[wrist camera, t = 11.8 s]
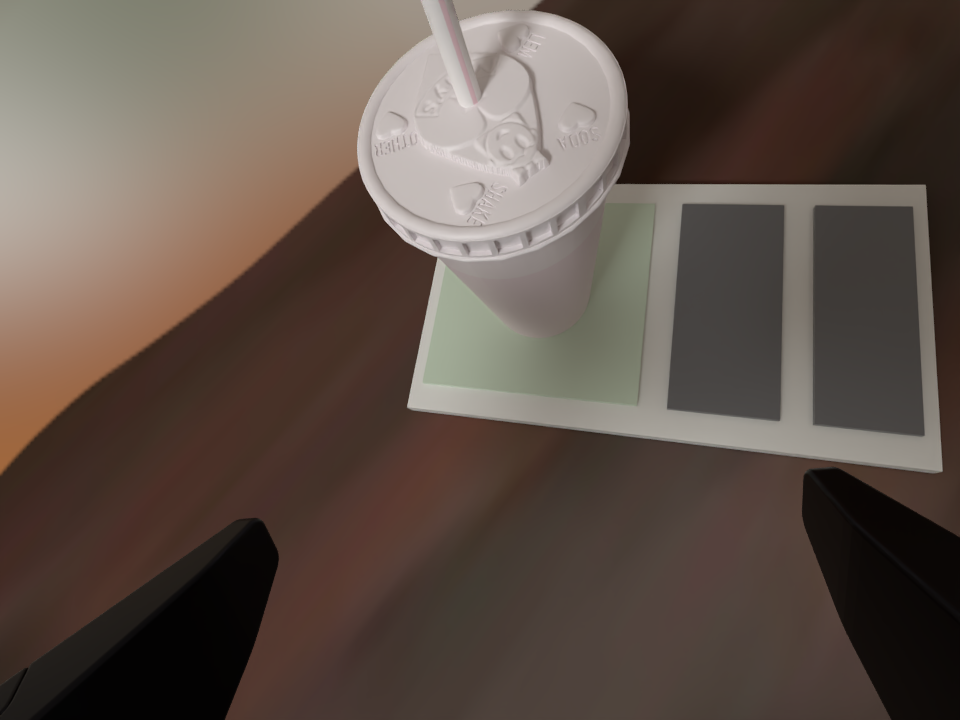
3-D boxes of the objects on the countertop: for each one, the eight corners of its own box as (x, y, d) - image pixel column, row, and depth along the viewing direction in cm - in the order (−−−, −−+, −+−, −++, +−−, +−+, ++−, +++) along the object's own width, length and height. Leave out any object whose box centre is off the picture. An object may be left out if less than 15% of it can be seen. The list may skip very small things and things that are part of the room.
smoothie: (560, 190, 23) (478, -275, 10) (664, 304, 20) (739, -119, 7) (432, 283, 23) (183, -57, 10) (520, 406, 20) (342, 169, 7)
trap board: (934, 473, 17) (946, 470, 17) (411, 410, 22) (405, 405, 21) (918, 193, 20) (928, 181, 19) (456, 190, 25) (451, 180, 24)
